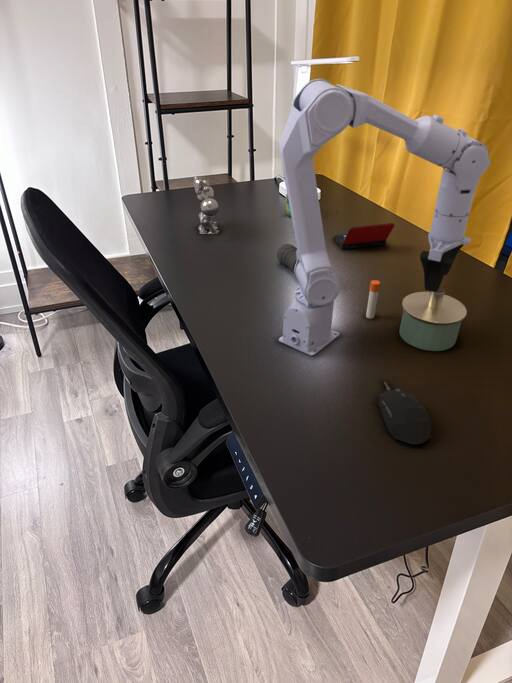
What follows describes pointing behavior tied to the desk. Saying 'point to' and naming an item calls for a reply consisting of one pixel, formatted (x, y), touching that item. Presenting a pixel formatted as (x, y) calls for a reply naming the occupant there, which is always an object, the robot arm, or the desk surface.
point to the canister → (428, 334)
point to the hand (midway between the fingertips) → (436, 281)
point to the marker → (372, 299)
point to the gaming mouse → (404, 416)
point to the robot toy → (206, 205)
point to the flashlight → (287, 255)
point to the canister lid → (434, 308)
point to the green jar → (287, 206)
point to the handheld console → (364, 236)
